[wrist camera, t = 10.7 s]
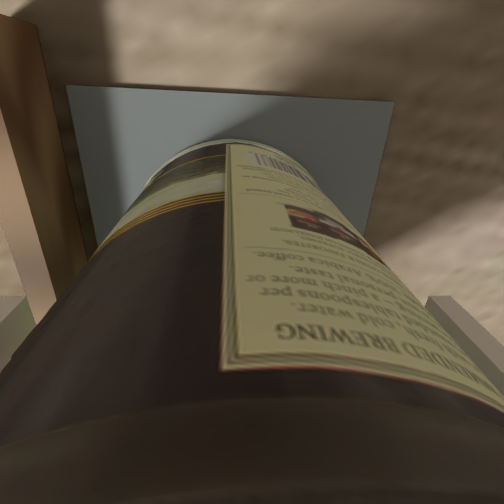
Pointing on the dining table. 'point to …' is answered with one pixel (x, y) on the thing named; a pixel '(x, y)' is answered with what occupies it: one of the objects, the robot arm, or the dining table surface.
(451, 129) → the dining table surface
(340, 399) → the coffee can
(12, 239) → the brown corner bracket
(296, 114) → the pad
